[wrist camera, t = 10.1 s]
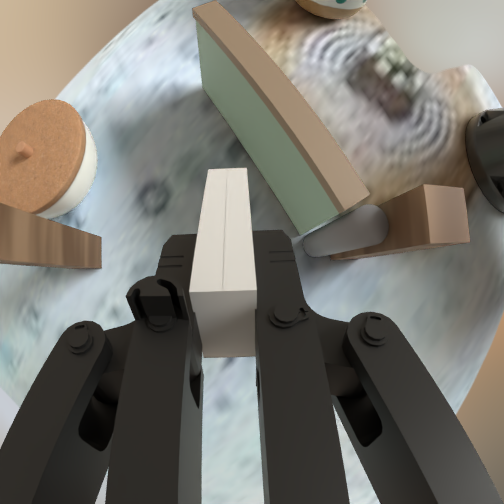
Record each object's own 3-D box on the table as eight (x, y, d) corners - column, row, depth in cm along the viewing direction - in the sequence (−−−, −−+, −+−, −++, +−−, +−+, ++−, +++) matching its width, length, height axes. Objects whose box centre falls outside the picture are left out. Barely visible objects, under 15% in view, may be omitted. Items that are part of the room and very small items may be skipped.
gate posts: (356, 228, 30) (463, 188, 14) (358, 258, 30) (470, 242, 14) (75, 238, 28) (-35, 207, 12) (75, 268, 28) (-38, 260, 12)
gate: (332, 248, 29) (395, 232, 17) (311, 262, 29) (366, 253, 17) (219, 79, 30) (218, -1, 18) (199, 89, 30) (189, 9, 18)
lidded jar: (36, 241, 27) (-20, 230, 18) (26, 154, 28) (-20, 123, 19) (121, 208, 28) (80, 180, 19) (105, 117, 29) (71, 70, 20)
